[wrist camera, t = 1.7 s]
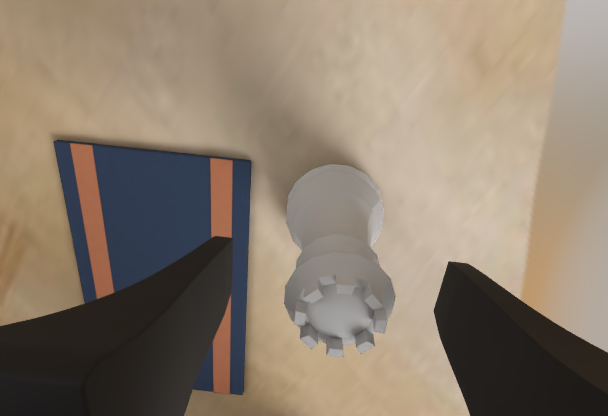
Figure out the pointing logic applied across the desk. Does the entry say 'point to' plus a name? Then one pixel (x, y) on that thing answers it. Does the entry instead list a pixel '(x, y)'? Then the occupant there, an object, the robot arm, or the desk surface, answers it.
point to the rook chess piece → (337, 260)
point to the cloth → (159, 229)
